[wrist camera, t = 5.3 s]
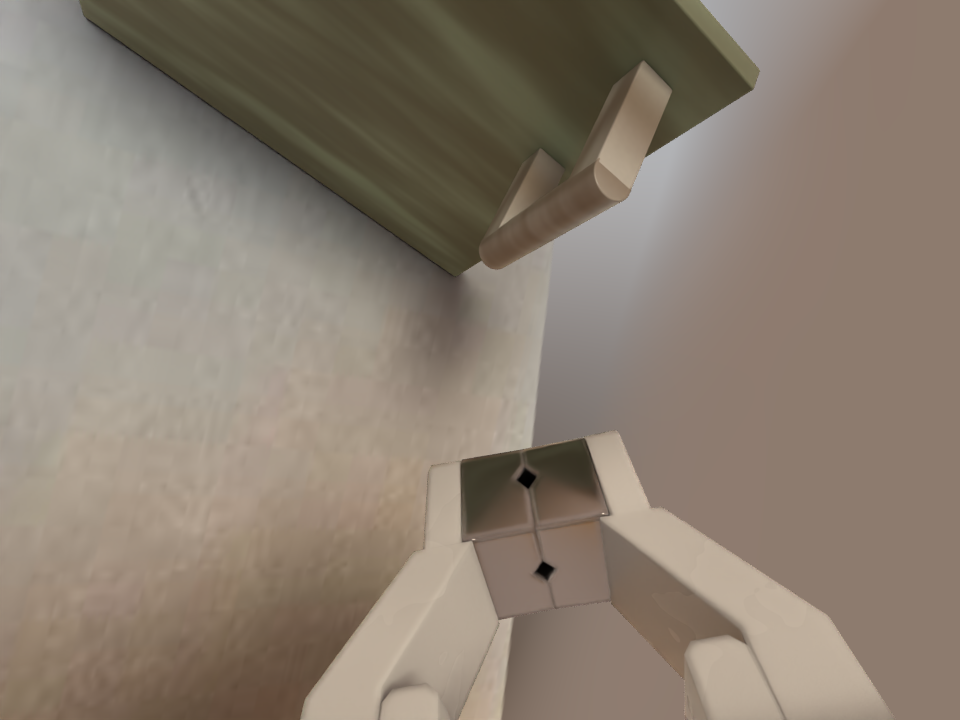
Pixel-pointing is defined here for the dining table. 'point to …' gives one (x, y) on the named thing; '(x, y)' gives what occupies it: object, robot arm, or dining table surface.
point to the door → (451, 101)
